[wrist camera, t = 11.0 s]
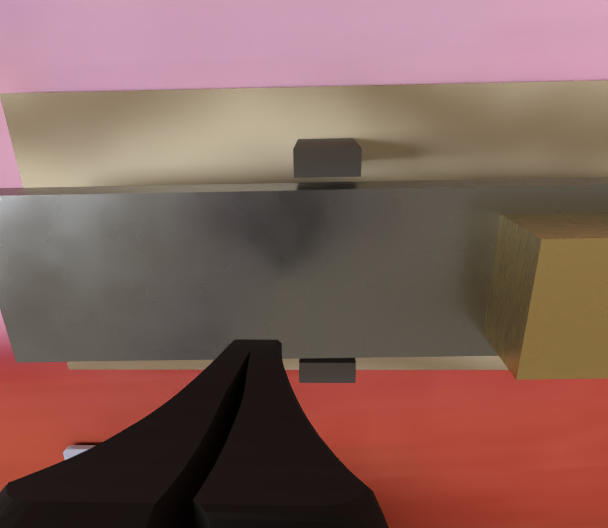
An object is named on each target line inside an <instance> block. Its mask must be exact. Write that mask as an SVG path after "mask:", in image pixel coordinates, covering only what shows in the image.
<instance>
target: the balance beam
mask: <svg viewBox="0 0 608 528" xmlns="http://www.w3.org/2000/svg"><path fill="white" fill-rule="evenodd" d="M588 212H608V177H579V178H525V179H471V180H417V181H363V182H309V183H254V184H200V185H146V186H92V187H38V188H0V310H1V313H2V316H3V320H4V323H5V326H6V330H7V333H8V336H9V340H10V343H11V346H12V350H13V353H14V356H15V360H16V362H79V361H153V360H215V359H216V358H217V357H218V356H219V355H220V354H221V352H222V351H223V350H224V349H225V348H226V347H227V346H228V345H229V344H230V343H231V342H232V341H234V340H235V339H255V340H279V341H280V342H281V343H282V359H300V358H374V357H447V356H498V354H497V353H496V352H495V350H494V349H493V348H492V346H491V345H490V344H489V342H488V341H487V340H486V338H485V337H484V336H483V331H484V324H485V318H486V311H487V304H488V297H489V290H490V283H491V276H492V269H493V262H494V255H495V248H496V241H497V234H498V227H499V220H500V214H537V213H588Z"/></svg>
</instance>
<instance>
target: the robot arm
mask: <svg viewBox="0 0 608 528" xmlns="http://www.w3.org/2000/svg"><path fill="white" fill-rule="evenodd" d="M63 455H64V459H65V460H64V461H62V462H60V463H58V464H55V465H53V466H50V467H48V468H45V469H43V470H40V471H38V472H35V473H33V474H30V475H28V476H25V477H22V478H20V479H17V480H14V481H12V482H9V483H8V484H7V485H6V486H5V487H4V488H3V490H2V491H1V492H0V528H389V527H388V525H387V522H386V520H385V517H384V515H383V513H382V510H381V508H380V506H379V504H378V502H377V499H376V497H375V495H374V493H373V491H372V490H371V489H370V488H369V487H367V486H366V485H365V484H364V483H363V482H362V481H360V480H359V479H358V478H357V477H356V476H355V475H354V474H353V473H351V472H350V471H349V470H348V469H347V468H346V466H345V465H344V464H343V463H342V462H341V461H340V460H339V459H338V458H337V457H336V456H335V455H334V453H333V452H332V451H331V450H330V449H329V447H328V446H327V445H326V444H325V442H324V441H323V440H322V439H321V437H320V436H319V435H318V433H317V432H316V431H315V429H314V428H313V426H312V425H311V423H310V422H309V420H308V418H307V417H306V415H305V413H304V412H303V410H302V408H301V406H300V404H299V402H298V401H297V398H296V396H295V394H294V392H293V390H292V388H291V385H290V383H289V380H288V377H287V374H286V372H285V368H284V365H283V361H282V343H281V342H280V341H279V340H255V339H235V340H234V341H232V342H231V343H230V344H229V345H228V346H227V347H226V348H225V349H224V350H223V351H222V352H221V354H220V355H219V356H218V357H217V358H216V359H215V360H214V361H213V362H212V363H211V364H210V365H209V366H208V367H207V368H206V369H204V370H203V371H202V372H201V373H200V374H199V375H198V376H197V377H196V378H195V379H194V380H193V381H192V382H191V383H189V384H188V385H187V386H186V387H185V388H184V389H182V390H181V391H180V392H179V393H178V394H177V395H175V396H174V397H173V398H172V399H170V400H169V401H168V402H166V403H165V404H164V405H162V406H161V407H159V408H158V409H156V410H155V411H154V412H152V413H151V414H149V415H148V416H146V417H145V418H143V419H142V420H140V421H138V422H137V423H135V424H133V425H132V426H130V427H128V428H127V429H125V430H123V431H122V432H120V433H118V434H116V435H115V436H113V437H111V438H110V439H108V440H106V441H104V442H102V443H100V444H98V445H70V446H68V447H67V448H66V449H65V451H64V453H63Z"/></svg>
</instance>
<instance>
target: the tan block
mask: <svg viewBox="0 0 608 528" xmlns="http://www.w3.org/2000/svg"><path fill="white" fill-rule="evenodd" d="M483 336H484V337H485V338H486V340H487V341H488V342H489V344H490V345H491V346H492V348H493V349H494V350H495V352H496V353H497V354H498V356H499V357H500V358H501V360H502V361H503V362H504V364H505V365H506V367H507V368H508V369H509V371H510V372H511V373H512V375H513V376H514V377H515V379H516V380H520V379H590V378H608V212H588V213H537V214H500V220H499V227H498V234H497V241H496V248H495V255H494V262H493V269H492V276H491V283H490V290H489V297H488V304H487V311H486V318H485V324H484V331H483Z"/></svg>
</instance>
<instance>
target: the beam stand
mask: <svg viewBox="0 0 608 528" xmlns="http://www.w3.org/2000/svg"><path fill="white" fill-rule="evenodd" d="M0 98H1V102H2V106H3V110H4V113H5V117H6V121H7V125H8V129H9V133H10V137H11V141H12V145H13V149H14V153H15V157H16V161H17V165H18V169H19V173H20V177H21V181H22V185H23V188H38V187H92V186H146V185H200V184H254V183H309V182H363V181H417V180H471V179H525V178H579V177H608V80H602V81H556V82H510V83H464V84H418V85H372V86H326V87H280V88H234V89H188V90H142V91H96V92H50V93H4V94H0ZM213 361H214V360H153V361H79V362H67V364H68V368H69V369H206V368H207V367H208V366H209V365H210V364H211V363H212V362H213ZM282 361H283V365H284V368H285V370H299V381H300V383H355V377H356V370H509V369H508V368H507V367H506V365H505V364H504V362H503V361H502V360H501V358H500V357H499V356H447V357H374V358H300V359H282Z"/></svg>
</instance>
